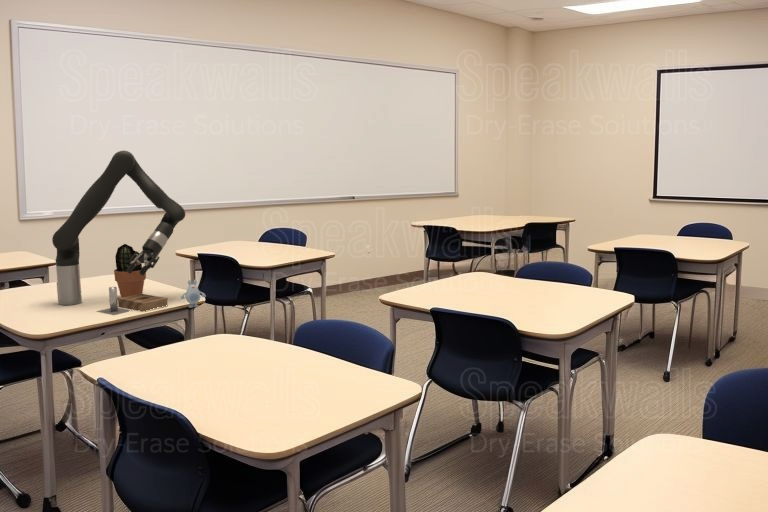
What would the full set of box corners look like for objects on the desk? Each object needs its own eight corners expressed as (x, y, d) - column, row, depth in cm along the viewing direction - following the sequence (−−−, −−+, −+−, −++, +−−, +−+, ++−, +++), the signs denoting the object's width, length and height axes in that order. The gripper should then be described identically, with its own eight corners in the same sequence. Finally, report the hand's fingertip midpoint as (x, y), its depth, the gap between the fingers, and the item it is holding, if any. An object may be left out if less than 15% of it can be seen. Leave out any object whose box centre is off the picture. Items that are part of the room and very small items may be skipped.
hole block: (118, 307, 294) (117, 298, 293) (142, 302, 304) (141, 293, 303) (144, 312, 285) (143, 303, 284) (167, 307, 295) (167, 298, 294)
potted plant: (148, 299, 311) (145, 244, 307) (116, 301, 305) (113, 246, 301) (146, 293, 323) (142, 240, 319) (115, 295, 317) (111, 242, 313)
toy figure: (181, 310, 290) (180, 282, 288) (179, 306, 295) (178, 279, 293) (207, 307, 294) (206, 280, 292) (204, 304, 299) (203, 277, 298)
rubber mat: (95, 312, 286) (95, 311, 286) (114, 308, 293) (114, 307, 293) (113, 316, 279) (113, 315, 279) (132, 311, 287) (132, 310, 286)
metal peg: (108, 311, 286) (107, 287, 284) (115, 309, 288) (113, 286, 287) (113, 312, 284) (111, 288, 282) (119, 310, 286) (118, 287, 285)
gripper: (139, 237, 302) (118, 266, 294) (160, 239, 294) (139, 269, 286) (150, 247, 307) (129, 276, 299) (171, 250, 299) (151, 280, 292)
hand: (134, 273), depth 293 cm, fingers open, 8 cm apart
